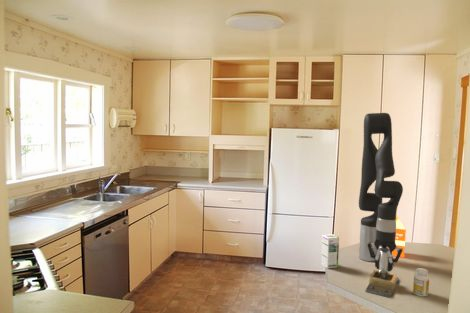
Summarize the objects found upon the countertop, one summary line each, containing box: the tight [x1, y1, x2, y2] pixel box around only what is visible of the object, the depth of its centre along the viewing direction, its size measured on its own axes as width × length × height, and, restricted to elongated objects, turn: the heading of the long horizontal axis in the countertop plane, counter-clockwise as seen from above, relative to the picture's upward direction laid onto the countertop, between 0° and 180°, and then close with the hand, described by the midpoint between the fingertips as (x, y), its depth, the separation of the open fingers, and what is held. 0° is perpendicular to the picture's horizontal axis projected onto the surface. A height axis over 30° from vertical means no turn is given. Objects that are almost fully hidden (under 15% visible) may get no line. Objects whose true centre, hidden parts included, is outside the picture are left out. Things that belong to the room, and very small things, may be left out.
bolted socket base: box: [365, 269, 399, 298], centre depth 149 cm, size 21×9×4 cm, turn 148°
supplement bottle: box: [412, 267, 430, 297], centre depth 142 cm, size 5×5×10 cm
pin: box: [377, 247, 391, 280], centre depth 148 cm, size 5×5×15 cm
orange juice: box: [392, 214, 407, 258], centre depth 188 cm, size 8×9×20 cm
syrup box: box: [320, 233, 340, 270], centre depth 169 cm, size 6×6×14 cm
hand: (383, 269), depth 149 cm, fingers closed on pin, 4 cm apart
